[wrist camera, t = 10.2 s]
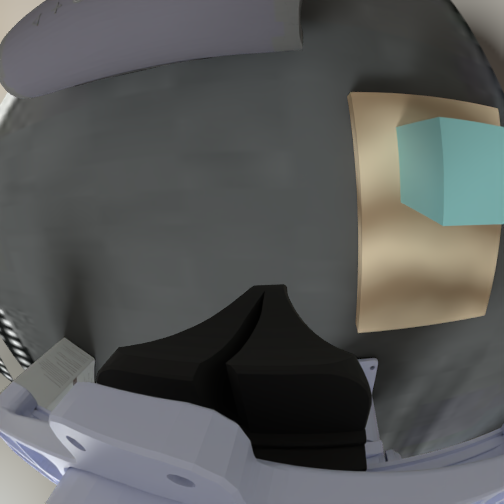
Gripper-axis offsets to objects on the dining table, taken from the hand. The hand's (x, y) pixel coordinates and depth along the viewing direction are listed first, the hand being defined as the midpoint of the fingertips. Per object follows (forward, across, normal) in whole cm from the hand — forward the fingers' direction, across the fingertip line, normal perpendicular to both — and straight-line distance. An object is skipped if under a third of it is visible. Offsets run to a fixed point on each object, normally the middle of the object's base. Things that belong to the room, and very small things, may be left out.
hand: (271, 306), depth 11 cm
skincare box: (+11, +29, +16) cm, 35 cm away
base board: (+10, -12, -1) cm, 16 cm away
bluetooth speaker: (+11, +8, -18) cm, 22 cm away
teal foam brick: (+9, -11, -5) cm, 15 cm away
